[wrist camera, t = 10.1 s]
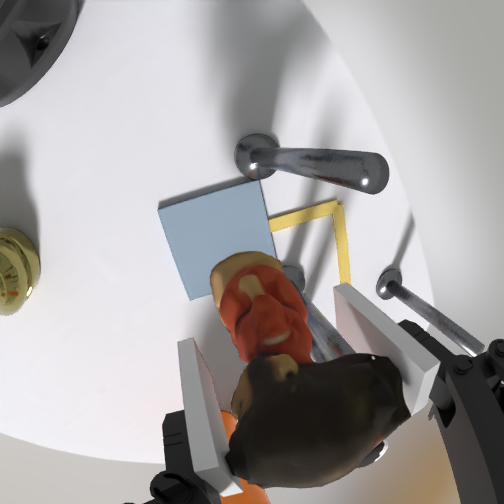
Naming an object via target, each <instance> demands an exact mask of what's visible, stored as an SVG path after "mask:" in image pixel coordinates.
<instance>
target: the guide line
mask: <svg viewBox="0 0 504 504" xmlns="http://www.w3.org/2000/svg"><path fill="white" fill-rule="evenodd" d="M330 214H333V221H334V228H335V236H336V245H337V253H338V263H339V273H340V284H342V283H345V282H347V283H349V284H350V285H351V279H350V265H349V254H348V243H347V234H346V225H345V216H344V208H343V204H340V205H338V202H337V200H333V201H330V202H326V203H323V204H319V205H316V206H312V207H309V208H306V209H302V210H299V211H295V212H292V213H289V214H285V215H282V216H279V217H275V218H272V219H269V220H268V224H269V228H270V233H272V232H275V231H278V230H281V229H285V228H288V227H291V226H294V225H297V224H301V223H304V222H307V221H310V220H313V219H317V218H320V217H323V216H326V215H330Z"/></svg>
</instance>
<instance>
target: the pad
mask: <svg viewBox="0 0 504 504" xmlns="http://www.w3.org/2000/svg"><path fill="white" fill-rule="evenodd" d="M157 211H158V214H159V217H160V220H161V223H162V226H163V229H164V232H165V235H166V238H167V241H168V244H169V247H170V249H171V252H172V255H173V258H174V260H175V263H176V266H177V269H178V271H179V274H180V277H181V279H182V282H183V285H184V287H185V290H186V292H187V295H188V297H189V300H190V301H191V300H194V299H197V298H200V297H203V296H206V295H209V294H212V290H211V286H210V274H211V270H212V269H213V267H214V266H215V265H216V264H218V263H219V262H220V261H223V260H224V259H226V258H227V257H229V256H231V255H233V254H234V253H238V252H246V251H261V252H263V253H265V254H267V255H269V256H272V257H274V258H276V255H275V251H274V246H273V242H272V237H271V233H270V228H269V224H268V219H267V215H266V210H265V206H264V201H263V197H262V193H261V188H260V184H259V180H253V181H249V182H246V183H242V184H239V185H235V186H232V187H228V188H225V189H221V190H218V191H214V192H211V193H208V194H205V195H201V196H198V197H195V198H192V199H188V200H185V201H182V202H179V203H176V204H173V205H170V206H167V207H164V208H161V209H158V210H157Z"/></svg>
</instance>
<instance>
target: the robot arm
mask: <svg viewBox="0 0 504 504" xmlns="http://www.w3.org/2000/svg"><path fill="white" fill-rule="evenodd" d="M77 12H78V0H0V107H3V106H5V105H8V104H9V103H11V102H13V101H15V100H16V99H18V98H19V97H21V96H22V95H23V94H25V93H26V92H27V91H28V90H30V89H31V88H32V87H33V86H34V85H35V84H36V83H37V82H38V81H39V80H40V79H41V78H42V77H43V76H44V75H45V73H46V72H47V71H48V70H49V69H50V68H51V66H52V65H53V64H54V62H55V61H56V59H57V58H58V57H59V55H60V53H61V52H62V50H63V49H64V47H65V45H66V43H67V41H68V39H69V37H70V35H71V33H72V31H73V28H74V25H75V22H76V18H77ZM333 290H334V301H335V312H336V324H337V331H338V332H339V333H340V334H341V335H342V336H343V337H344V339H345V340H346V341H347V342H348V343H349V344H350V345H351V347H352V348H353V349H354V350H355V351H356V352H357V353H369V354H374V355H378V356H386V357H389V359H390V360H391V362H392V363H393V364H394V365H395V366H396V367H397V368H398V370H399V372H400V375H401V378H402V383H403V394H404V399H405V402H406V405H407V407H408V409H409V411H410V413H411V415H413V414H415V413H416V412H418V411H419V410H421V409H422V408H423V407H425V406H426V404H427V401H428V398H430V399H431V400H432V401H433V405H432V408H431V410H430V412H429V415H428V417H429V420H431V419H432V417H433V415H435V418H436V420H437V423H438V426H439V429H440V432H441V435H442V438H443V441H444V444H445V447H446V450H447V453H448V457H449V460H450V463H451V467H452V470H453V474H454V478H455V481H456V485H457V489H458V493H459V497H460V502H461V504H504V384H502V383H501V381H503V382H504V339H496V340H494V341H492V342H491V344H490V345H489V347H488V350H487V351H486V352H484V353H482V354H479V355H477V356H474V357H469V356H467V355H454V354H452V352H450V351H449V350H448V349H447V348H446V347H444V346H443V345H442V344H441V343H439V342H438V341H437V340H436V339H435V338H434V337H432V336H430V334H429V333H427V332H426V331H424V329H422V328H421V327H420V326H419V325H417V324H416V323H414V322H411V321H408V320H406V319H405V320H403V321H401V322H400V323H398V324H397V323H395V322H394V321H393V320H392V319H391V318H390V317H388V316H387V315H386V314H385V313H384V312H382V311H381V310H380V309H379V308H378V307H376V306H375V305H374V304H373V303H372V302H370V301H369V300H368V299H367V298H366V297H364V296H363V295H362V294H361V293H360V292H358V291H357V290H356V289H355V288H353V287H352V286H351V285H350V284H349V283H347V282H345V283H342V284H340V285H337V286H335V287H333ZM177 343H178V355H179V366H180V376H181V386H182V394H183V403H184V410H181V411H177V412H173V413H169V414H166V416H165V419H164V422H163V424H162V430H163V437H164V438H163V443H164V454H165V464H166V470H165V471H162V472H160V473H159V474H157V475H156V476H155V477H154V478H153V480H152V481H151V484H150V492H151V495H152V496H153V497H154V498H155V499H153V500H151V501H148V502H146V503H144V504H222V502H221V498H220V495H222V496H223V497H225V496H229V495H234V494H238V493H242V492H243V489H242V486H241V483H240V479H239V477H236V476H234V475H232V473H231V470H230V468H229V465H228V463H227V460H226V458H225V456H226V455H227V453H228V452H229V450H230V449H229V446H228V444H229V442H228V438H227V435H226V431H225V427H224V423H223V420H222V416H221V412H220V408H219V404H218V400H217V396H216V392H215V388H214V383H213V379H212V376H211V374H210V372H209V370H208V368H207V366H206V364H205V362H204V359H203V357H202V355H201V353H200V351H199V349H198V347H197V345H196V342H195V340H194V338H193V337H192V338H189V339H186V340H183V341H179V342H177ZM372 359H375V358H374V357H373V356H372ZM219 494H220V495H219ZM124 504H134V503H124Z"/></svg>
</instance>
